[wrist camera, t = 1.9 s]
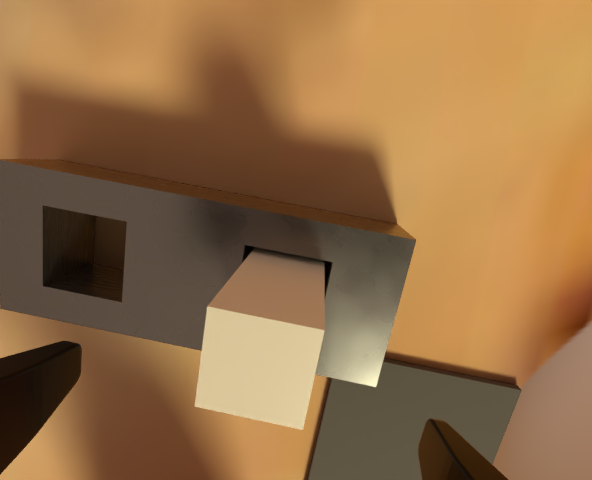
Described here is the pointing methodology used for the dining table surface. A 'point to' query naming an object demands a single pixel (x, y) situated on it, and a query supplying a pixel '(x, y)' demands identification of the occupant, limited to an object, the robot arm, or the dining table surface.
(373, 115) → the dining table surface
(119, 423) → the dining table surface
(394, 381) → the mat
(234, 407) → the peg
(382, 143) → the dining table surface
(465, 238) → the dining table surface
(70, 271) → the grey block with holes
